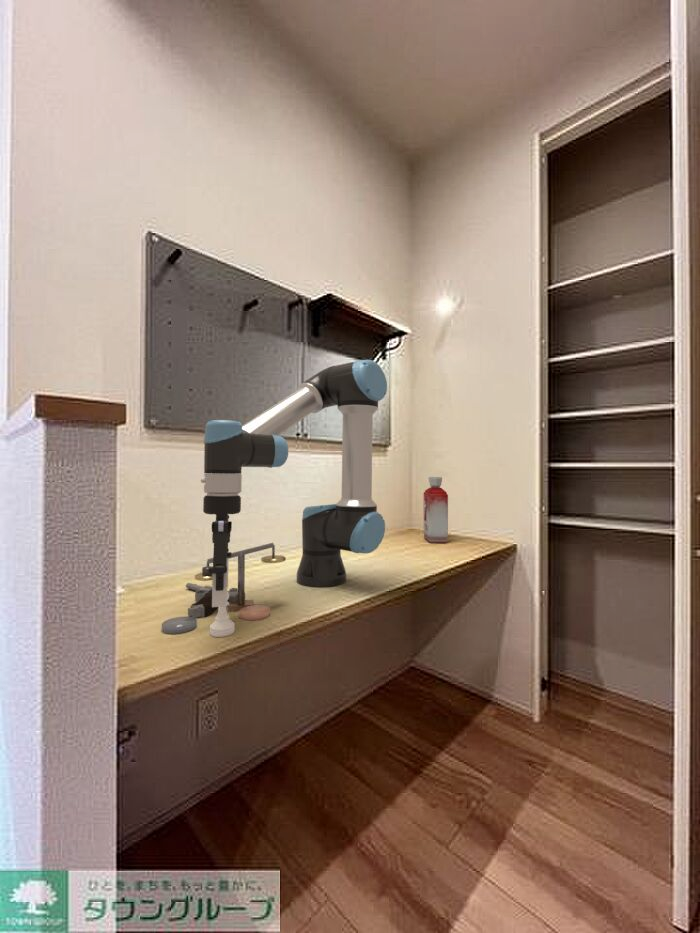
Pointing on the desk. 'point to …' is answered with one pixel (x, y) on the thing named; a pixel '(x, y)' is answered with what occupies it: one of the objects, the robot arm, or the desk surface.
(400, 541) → the desk surface
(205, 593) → the handgun
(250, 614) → the pink disc
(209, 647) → the desk surface
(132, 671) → the desk surface
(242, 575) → the balance
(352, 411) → the robot arm
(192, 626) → the dish slate
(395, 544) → the desk surface
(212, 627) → the chess pawn
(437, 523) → the bottle
